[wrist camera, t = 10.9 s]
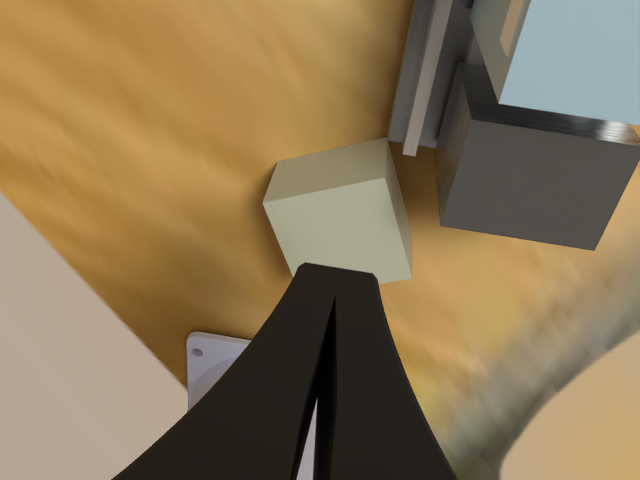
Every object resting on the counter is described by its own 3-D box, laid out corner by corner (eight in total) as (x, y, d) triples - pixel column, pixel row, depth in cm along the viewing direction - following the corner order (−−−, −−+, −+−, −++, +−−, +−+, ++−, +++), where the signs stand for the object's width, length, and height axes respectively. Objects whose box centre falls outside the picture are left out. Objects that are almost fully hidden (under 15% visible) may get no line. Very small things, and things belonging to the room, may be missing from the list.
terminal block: (411, 228, 22) (412, 278, 20) (311, 246, 23) (300, 296, 21) (386, 134, 20) (384, 177, 18) (278, 159, 21) (262, 203, 19)
